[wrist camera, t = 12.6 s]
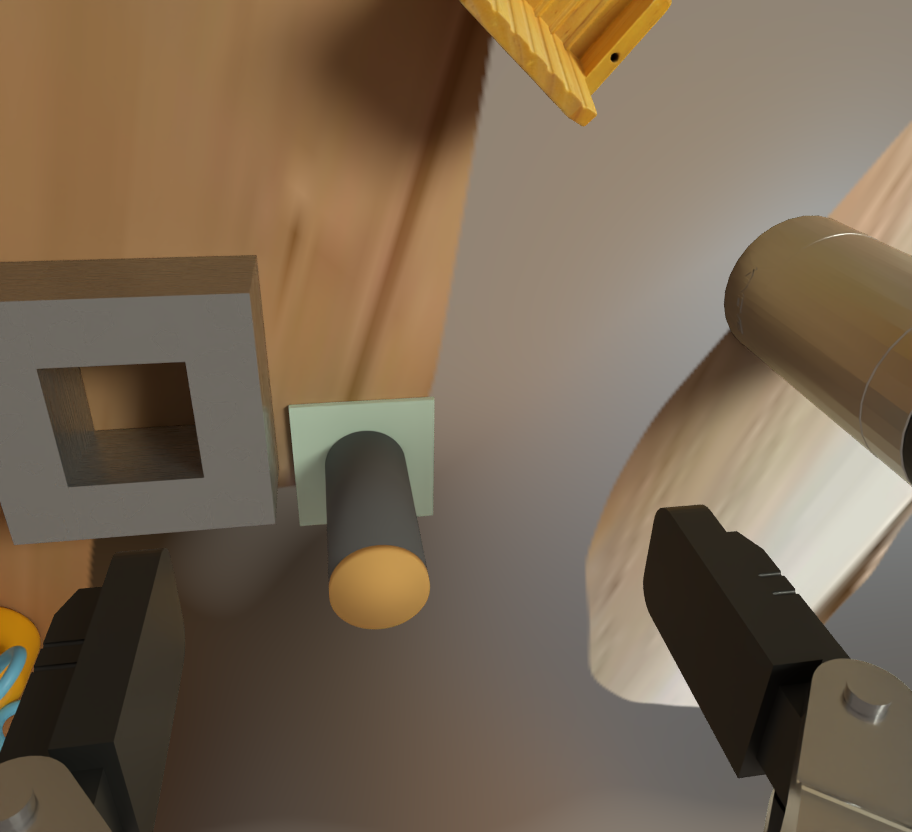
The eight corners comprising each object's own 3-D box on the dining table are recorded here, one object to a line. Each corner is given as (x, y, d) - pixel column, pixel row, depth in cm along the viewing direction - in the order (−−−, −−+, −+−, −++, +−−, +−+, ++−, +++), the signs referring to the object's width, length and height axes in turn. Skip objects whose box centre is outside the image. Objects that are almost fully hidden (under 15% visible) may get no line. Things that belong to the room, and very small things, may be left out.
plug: (404, 427, 49) (430, 548, 39) (406, 494, 52) (429, 623, 42) (322, 433, 49) (325, 557, 38) (327, 500, 51) (332, 634, 41)
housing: (256, 255, 43) (249, 293, 38) (278, 467, 50) (275, 524, 45) (-17, 262, 41) (-64, 303, 36) (45, 483, 48) (14, 544, 42)
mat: (433, 396, 49) (434, 399, 49) (432, 511, 54) (433, 515, 53) (288, 404, 48) (288, 407, 47) (299, 522, 52) (299, 526, 52)
